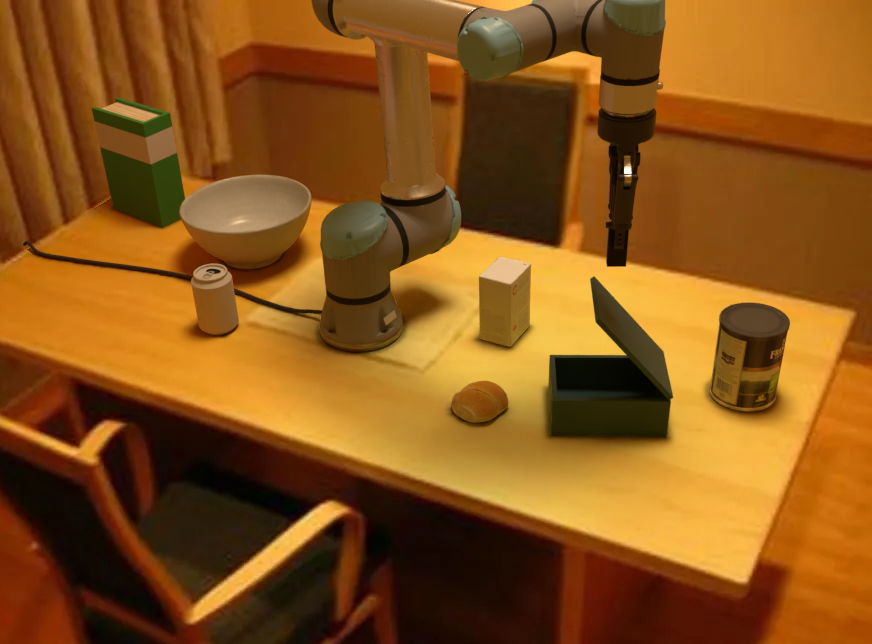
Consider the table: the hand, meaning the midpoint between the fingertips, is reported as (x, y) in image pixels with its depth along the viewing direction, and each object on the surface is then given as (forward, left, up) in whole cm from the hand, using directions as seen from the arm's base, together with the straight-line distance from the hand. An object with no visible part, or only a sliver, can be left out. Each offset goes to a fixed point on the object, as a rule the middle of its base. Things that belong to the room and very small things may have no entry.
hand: (616, 264), depth 157 cm
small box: (-16, +24, -27) cm, 39 cm away
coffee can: (+22, +6, -27) cm, 35 cm away
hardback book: (-96, +75, -27) cm, 124 cm away
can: (-69, +26, -27) cm, 78 cm away
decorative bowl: (-68, +54, -27) cm, 91 cm away
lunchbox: (0, 0, -27) cm, 27 cm away
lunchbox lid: (+3, 0, -13) cm, 13 cm away
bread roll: (-20, +1, -27) cm, 34 cm away
